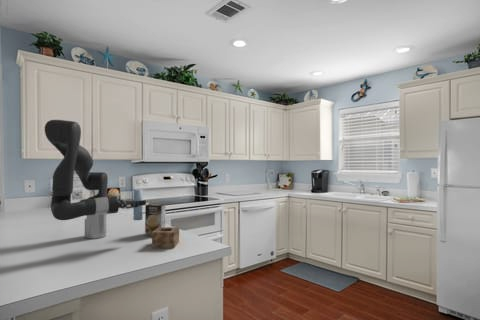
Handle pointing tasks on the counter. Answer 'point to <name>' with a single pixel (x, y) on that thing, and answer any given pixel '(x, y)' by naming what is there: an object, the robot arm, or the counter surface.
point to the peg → (138, 210)
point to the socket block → (165, 237)
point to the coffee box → (154, 217)
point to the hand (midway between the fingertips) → (143, 202)
